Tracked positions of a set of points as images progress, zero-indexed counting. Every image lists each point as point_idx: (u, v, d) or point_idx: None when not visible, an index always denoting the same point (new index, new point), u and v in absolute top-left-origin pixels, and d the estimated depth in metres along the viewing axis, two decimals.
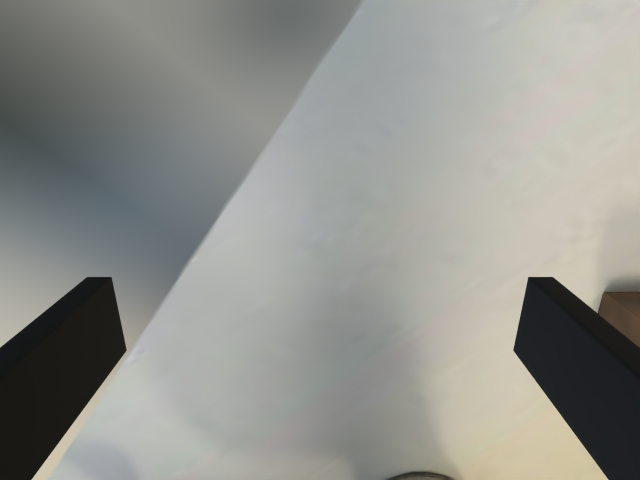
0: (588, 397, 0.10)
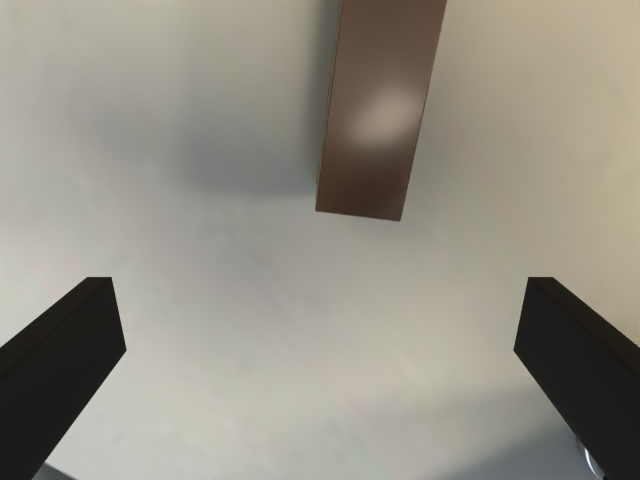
0: (588, 397, 0.10)
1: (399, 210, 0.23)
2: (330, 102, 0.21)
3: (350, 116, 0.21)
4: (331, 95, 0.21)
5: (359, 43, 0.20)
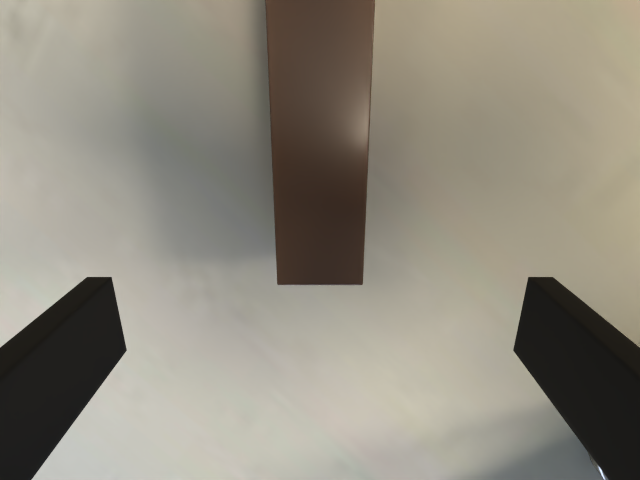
0: (588, 397, 0.10)
1: (359, 274, 0.23)
2: (274, 184, 0.21)
3: (295, 195, 0.21)
4: (273, 177, 0.21)
5: (292, 126, 0.20)
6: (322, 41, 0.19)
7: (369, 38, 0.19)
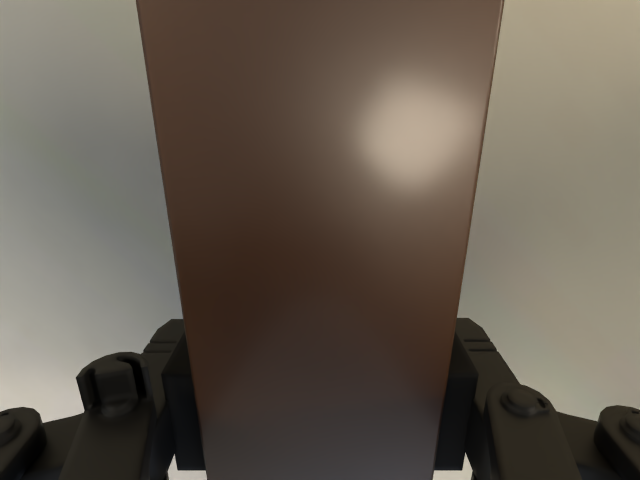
0: None
1: None
2: (191, 363, 0.08)
3: (253, 387, 0.08)
4: (189, 347, 0.07)
5: (233, 215, 0.06)
6: None
7: None
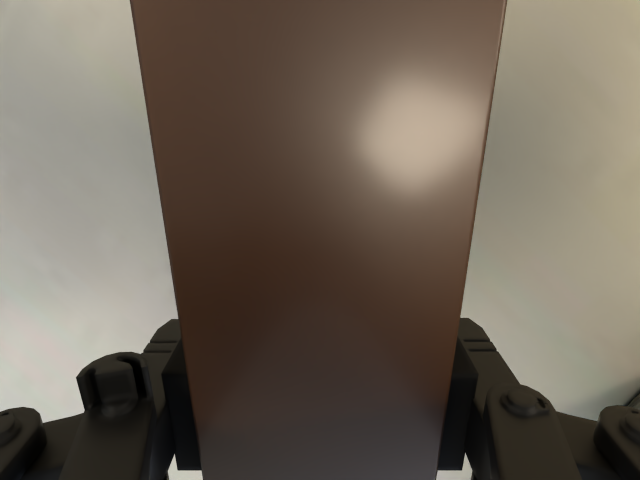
0: None
1: None
2: (187, 365, 0.07)
3: (251, 391, 0.08)
4: (185, 350, 0.07)
5: (229, 213, 0.06)
6: None
7: None
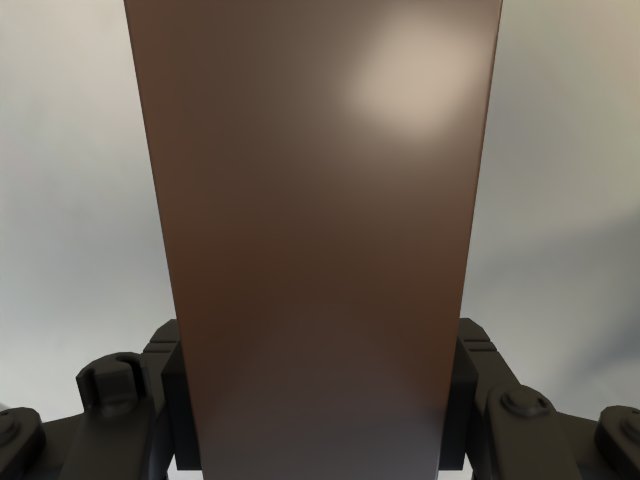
0: None
1: None
2: (186, 367, 0.07)
3: (250, 391, 0.08)
4: (184, 351, 0.07)
5: (227, 214, 0.06)
6: None
7: None
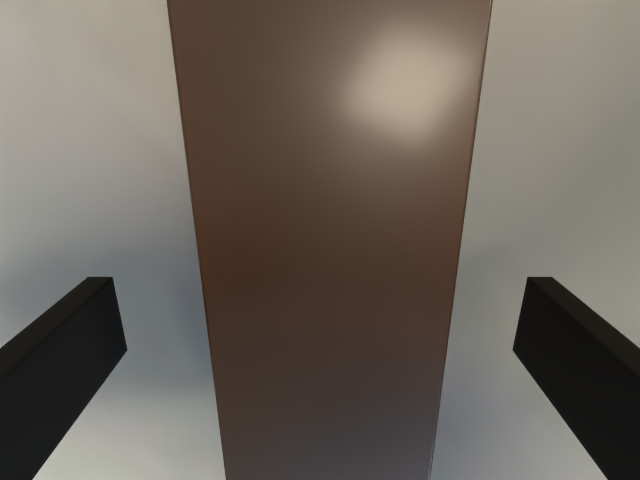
0: (587, 396, 0.10)
1: None
2: (207, 313, 0.08)
3: (266, 337, 0.08)
4: (205, 297, 0.08)
5: (249, 165, 0.07)
6: None
7: None
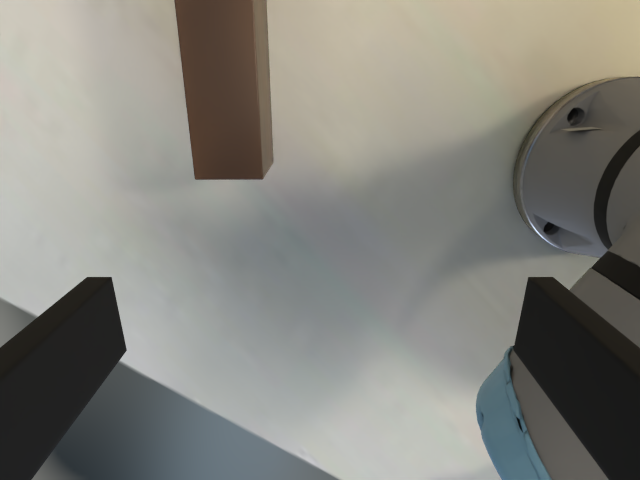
0: (588, 397, 0.10)
1: (259, 170, 0.29)
2: (185, 92, 0.27)
3: (203, 101, 0.27)
4: (185, 86, 0.27)
5: (196, 43, 0.26)
6: None
7: None
